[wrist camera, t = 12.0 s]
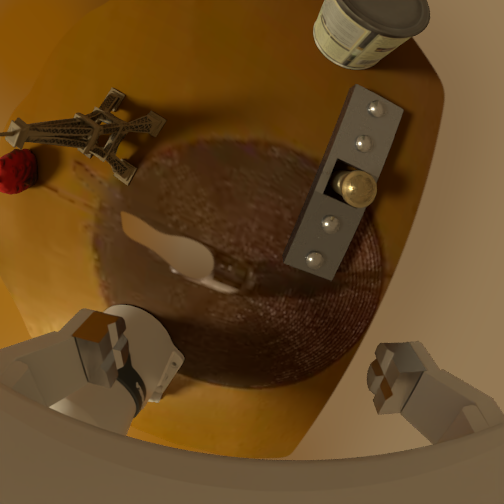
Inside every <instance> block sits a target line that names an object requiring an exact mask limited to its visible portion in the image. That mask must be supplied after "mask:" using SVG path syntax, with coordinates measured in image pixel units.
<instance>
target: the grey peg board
mask: <svg viewBox="0 0 504 504" xmlns="http://www.w3.org/2000/svg"><path fill="white" fill-rule="evenodd" d="M402 113H403V109H402V108H400V107H398V106H397V105H395V104H393V103H391V102H390V101H388V100H386V99H384V98H382V97H381V96H379V95H377V94H375V93H373V92H371V91H369V90H367V89H365V88H364V87H362V86H360V85H358V84H355V85H354V86H353V87H351V88H350V89H349V92H348V95H347V97H346V100H345V103H344V105H343V108H342V110H341V113H340V116H339V118H338V121H337V123H336V126H335V128H334V131H333V134H332V136H331V139H330V141H329V144H328V146H327V149H326V151H325V154H324V156H323V159H322V161H321V164H320V166H319V169H318V171H317V174H316V176H315V179H314V181H313V184H312V186H311V188H310V191H309V193H308V196H307V198H306V201H305V203H304V205H303V208H302V210H301V213H300V215H299V217H298V220H297V222H296V224H295V227H294V229H293V232H292V234H291V236H290V239H289V241H288V243H287V246H286V248H285V250H284V253H283V255H282V256H283V262H284V263H285V264H287V265H290V266H293V267H296V268H298V269H301V270H304V271H307V272H309V273H312V274H315V275H317V276H320V277H323V278H326V279H328V280H331V281H332V279H333V277H334V275H335V273H336V271H337V269H338V267H339V265H340V263H341V261H342V259H343V257H344V255H345V253H346V251H347V248H348V246H349V244H350V242H351V240H352V238H353V236H354V233H355V231H356V229H357V227H358V225H359V222H360V220H361V218H362V216H363V213H364V211H365V209H366V207H367V206H366V207H363V208H356V207H353V206H351V205H350V204H348V203H345V202H343V201H341V200H339V199H336V198H334V197H332V196H329V195H327V194H325V193H323V192H324V190H325V187H326V185H327V183H328V180H329V178H330V175H331V173H332V170H333V168H334V165H335V163H336V160H338V161H341V162H343V163H345V164H347V165H349V166H351V167H353V168H355V169H358V170H360V171H364V172H367V173H369V174H370V175H371V176H372V177H373V178H374V180H375V182H376V183H377V180H378V178H379V175H380V173H381V170H382V168H383V165H384V163H385V160H386V158H387V155H388V152H389V150H390V147H391V144H392V142H393V139H394V136H395V133H396V131H397V128H398V125H399V122H400V119H401V116H402Z"/></svg>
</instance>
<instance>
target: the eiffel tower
mask: <svg viewBox="0 0 504 504" xmlns="http://www.w3.org/2000/svg"><path fill="white" fill-rule="evenodd" d="M124 97H125V95H124V94H122V93H121V92H119V91H117V90H115V89H114V88H111V90H110V92H109V93H108V95H107V96H106V98H105V100H104V102H103V103H102V104H101V106H100V108H97V107H95V108H94V111H93V112H92V113H90V114H87V115H83V114H81V113H76V114H75V116H74V118H72V119H63V120H55V121H47V122H40V123H33V124H26V123H25V122H24V121H22V120H21V119H20V118H17V120H16V121H15V122H14V121H13V120H12V121H11V124H10V126H9V129H8V132H3V133H0V136H6V137H5V140H7V141H8V142H9V143H10V144H11V145H12V146H13V147H16V146H17V147H18V148H20V149H21V150H22V147H23V145H24V142H33V143H43V144H52V145H60V146H68V147H75V148H78V150H79V151H80V152H82V153H83V154H84V155H86V156H87V157H89V158H91V156H92V154H94V155H95V156H97V157H98V158H99V159H100V160H102V161H103V162H104V161H105V160H106V161H107V162H108V163H109V164H110V165H111V167H112V170H113V172H114V176H115V177H116V178H118V179H119V180H121V181H122V182H124V183H125V184H126V185H128V184H129V183H130V181H131V179H132V177H133V175H134V173H135V172H136V170H137V168H136V167H134V166H133V165H131V164H130V163H128V162H127V161H125V160H124V159H121V160H120V159H119V158H118V157H116V152H117V149H118V146H119V144H120V142H121V141H122V139H123V138H124V137H125V136H126V134H127V133H128V132H141V133H149V134H150V135H152V136H154V137H156V136H157V135H158V133H159V132H160V130H161V129H162V127H163V125H164V124H165V122H166V121H167V120H165V119H164V118H162V117H161V116H159V115H157V114H156V113H154V112H153V111H150V113H148V114H147V115H146V116H143V117H140V118H138V119H136V120H133V121H131V122H128V123H127V122H125V121H123V120H121V119H119V118H117V117H116V116H114V115H113V114H111V113H110V112H111V111H114V112H116V110H117V108H118V107H119V105H120V104H121V102H122V100H123V99H124ZM102 121H103V122H105V123H106V124H104V125H100V124H101V122H102ZM110 133H112V134H111V136H110V138H109V140H108V141H107V143H106V145H105V147H101V146H100V145H98V141H97V140H98V138H99V136H100V135H104V134H110Z"/></svg>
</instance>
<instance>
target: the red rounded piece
mask: <svg viewBox="0 0 504 504" xmlns="http://www.w3.org/2000/svg"><path fill="white" fill-rule="evenodd" d="M37 178H38V175H37V161H36V157H35V155H34V154H32V151H31V150H29V149H23V150H19V149H14V150H13V151H11V152H10V153H8V154H6V155H4V156H2V157H1V158H0V192H2V193H7V194H17V193H20V192H22V191H24V190H26V189H28V188H29V187H30V186H32V185H34V184H35V182H36V180H37Z"/></svg>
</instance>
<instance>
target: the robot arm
mask: <svg viewBox="0 0 504 504" xmlns="http://www.w3.org/2000/svg"><path fill="white" fill-rule="evenodd" d="M375 355H376V358H377V359H376V360H374V361H373V362H372V363H371V364H370V367H369V370H368V373H367V385H368V388H369V390H370V391H371V392H372V393H373V394H375V397H374V399H373V402H374V405H375V407H376V410H377V413H378V414H392V413H401V415H402V416H403V417H404V418H405V419H406V420H407V421H408V422H410V423H411V424H412V425H413V426H414V427H415V428H416V429H417V430H418V431H419V432H420V433H421V434H422V435H424V436H425V437H426V438H427V439H428V440H429V441H430V442H431V443H432V444H433V445H429V446H425V447H420V448H415V449H411V450H405V451H400V452H394V453H388V454H382V455H374V456H366V457H357V458H345V459H333V460H332V459H331V460H297V461H296V460H293V461H292V460H264V459H249V458H238V457H228V456H220V455H213V454H205V453H199V452H193V451H188V450H182V449H177V448H172V447H167V446H163V445H159V444H154V443H150V442H146V441H142V440H139V439H135V438H131V437H128V436H126V434H127V432H128V429H129V427H130V424H131V422H132V420H133V418H134V417H136V416H137V414H138V413H139V412H140V410H142V409H143V408H144V407H145V405H146V404H147V402H148V401H149V402H156V403H158V402H159V400H160V398H161V396H162V394H163V392H164V391H165V389H166V388H167V386H168V385H169V383H170V382H171V380H172V379H173V377H174V376H175V374H176V373H177V371H178V370H179V368H180V367H181V365H182V364H183V362H184V359H185V358H184V356H183V354H182V353H181V352H180V351H179V350H178V349H177V348H176V347H175V346H174V345H173V343H172V341H171V338H170V336H169V334H168V332H167V331H166V329H165V328H164V327H163V325H162V324H161V323H160V322H159V321H158V320H157V319H156V318H154V317H153V316H152V315H150V314H149V313H147V312H146V311H144V310H142V309H140V308H137V307H134V306H130V305H115V306H112V307H110V308H108V309H106V310H105V311H104V312H103V313H102V312H98V311H94V310H89V309H81V310H80V311H79V312H78V313H77V314H76V315H75V316H74V317H73V318H72V319H71V320H70V321H69V322H68V323H67V324H66V325H65V326H64V327H63V328H62V329H61V330H60V331H59V332H55V331H54V332H51V333H48V334H45V335H42V336H39V337H36V338H33V339H30V340H27V341H24V342H21V343H18V344H15V345H12V346H9V347H6V348H3V349H0V504H504V414H503V413H502V411H501V410H500V408H499V407H498V405H497V404H496V402H495V401H494V399H493V398H492V397H490V396H488V395H486V394H485V393H483V392H481V391H479V390H478V389H476V388H474V387H473V386H471V385H469V384H467V383H466V382H464V381H462V380H461V379H459V378H457V377H455V376H454V375H452V374H450V373H449V372H447V371H445V370H440V369H439V368H438V366H437V365H436V363H435V362H434V360H433V359H432V357H431V356H430V354H429V353H428V351H427V350H426V348H425V347H424V346H423V344H422V343H421V342H418V341H417V342H406V343H380V344H379V345H378V346H377V349H376V351H375ZM174 362H175V363H174Z"/></svg>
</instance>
